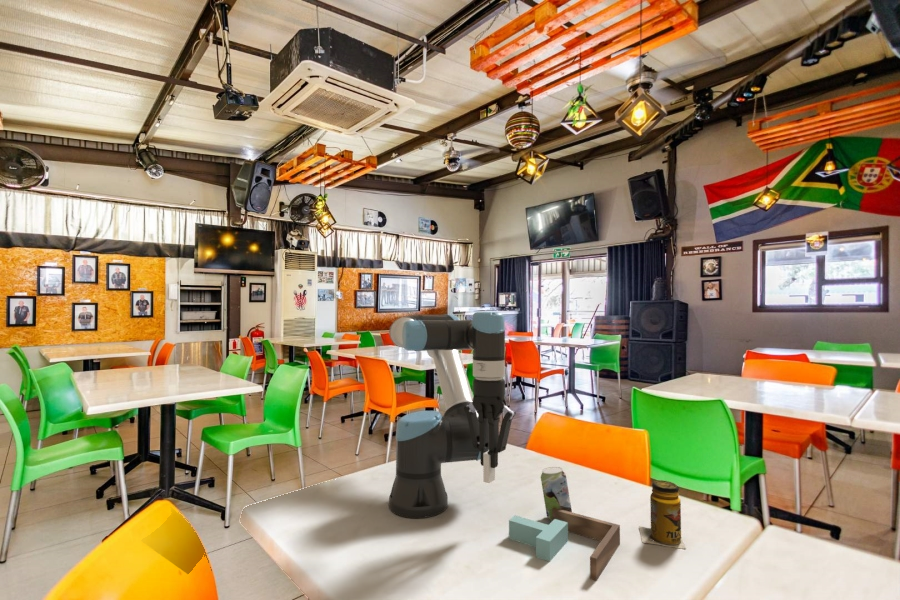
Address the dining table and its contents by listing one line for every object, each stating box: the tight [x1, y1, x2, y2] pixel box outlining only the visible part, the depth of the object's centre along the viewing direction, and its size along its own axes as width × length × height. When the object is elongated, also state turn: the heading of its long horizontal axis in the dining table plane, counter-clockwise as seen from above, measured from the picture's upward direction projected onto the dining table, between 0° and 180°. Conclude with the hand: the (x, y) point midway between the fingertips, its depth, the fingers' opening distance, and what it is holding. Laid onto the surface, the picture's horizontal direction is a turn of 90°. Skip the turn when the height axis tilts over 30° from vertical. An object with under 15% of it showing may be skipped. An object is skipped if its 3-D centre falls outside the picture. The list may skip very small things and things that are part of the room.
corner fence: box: [551, 508, 621, 582], centre depth 94 cm, size 15×16×4 cm
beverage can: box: [540, 466, 573, 522], centre depth 108 cm, size 6×7×12 cm
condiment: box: [638, 479, 686, 550], centre depth 99 cm, size 7×8×12 cm
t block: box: [508, 514, 569, 562], centre depth 96 cm, size 11×10×4 cm
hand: (489, 480), depth 103 cm, fingers closed
